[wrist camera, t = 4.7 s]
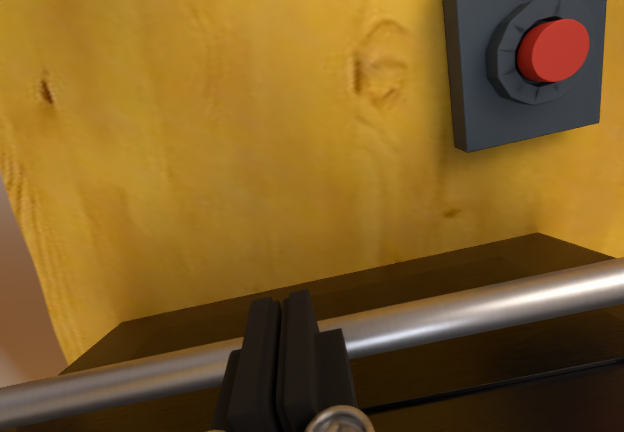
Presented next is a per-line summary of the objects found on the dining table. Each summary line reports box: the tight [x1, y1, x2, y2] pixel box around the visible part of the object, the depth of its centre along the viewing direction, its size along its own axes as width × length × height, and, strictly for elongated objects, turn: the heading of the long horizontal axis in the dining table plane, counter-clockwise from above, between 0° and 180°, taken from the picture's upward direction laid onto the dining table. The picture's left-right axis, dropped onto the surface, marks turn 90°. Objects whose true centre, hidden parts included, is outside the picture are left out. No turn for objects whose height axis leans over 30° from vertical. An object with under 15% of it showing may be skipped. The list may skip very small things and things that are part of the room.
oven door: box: [0, 233, 624, 432], centre depth 21 cm, size 6×40×26 cm, turn 103°
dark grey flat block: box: [443, 0, 607, 153], centre depth 26 cm, size 12×10×4 cm
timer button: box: [517, 19, 589, 82], centre depth 24 cm, size 4×4×2 cm
